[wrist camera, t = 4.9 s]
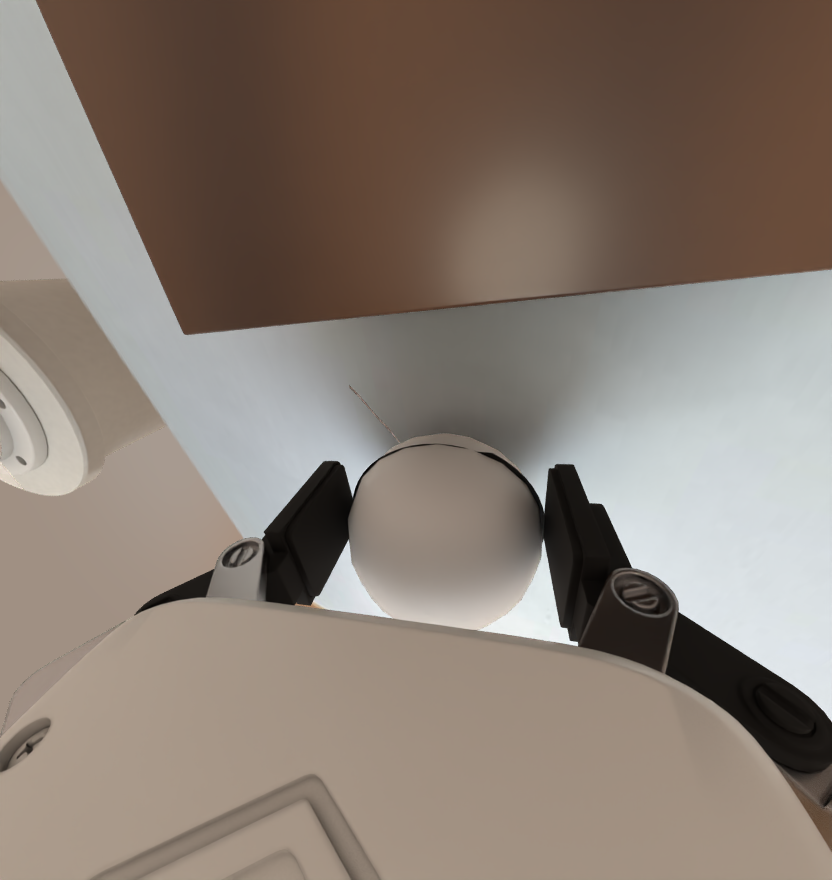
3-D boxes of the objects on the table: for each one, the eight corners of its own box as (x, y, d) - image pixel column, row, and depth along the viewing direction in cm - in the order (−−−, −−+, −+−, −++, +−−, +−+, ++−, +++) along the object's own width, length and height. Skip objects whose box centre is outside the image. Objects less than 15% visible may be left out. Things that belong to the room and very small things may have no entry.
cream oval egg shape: (544, 520, 16) (580, 690, 10) (408, 534, 18) (365, 677, 12) (503, 317, 12) (519, 380, 5) (335, 370, 14) (211, 455, 8)
